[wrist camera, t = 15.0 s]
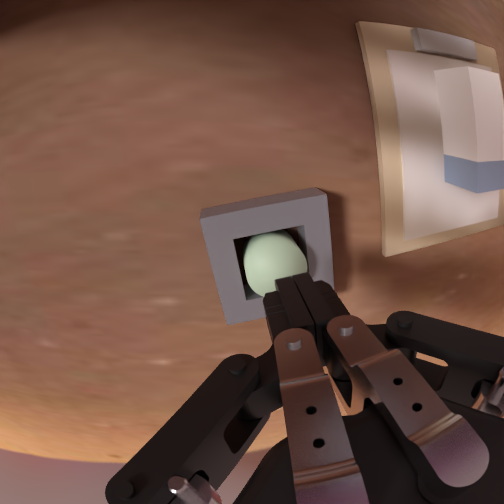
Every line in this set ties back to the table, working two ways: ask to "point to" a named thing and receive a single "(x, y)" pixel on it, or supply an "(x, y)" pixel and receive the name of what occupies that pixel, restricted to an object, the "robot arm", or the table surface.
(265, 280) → the button
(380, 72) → the clipboard
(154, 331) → the table surface
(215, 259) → the button housing
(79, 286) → the table surface
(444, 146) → the white carton blue base
